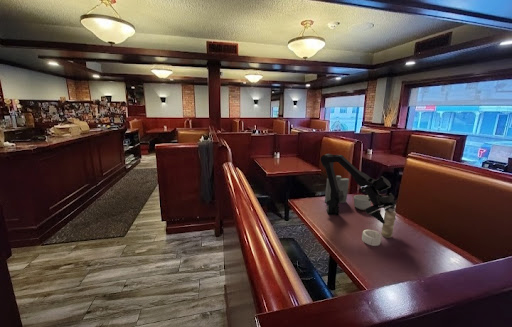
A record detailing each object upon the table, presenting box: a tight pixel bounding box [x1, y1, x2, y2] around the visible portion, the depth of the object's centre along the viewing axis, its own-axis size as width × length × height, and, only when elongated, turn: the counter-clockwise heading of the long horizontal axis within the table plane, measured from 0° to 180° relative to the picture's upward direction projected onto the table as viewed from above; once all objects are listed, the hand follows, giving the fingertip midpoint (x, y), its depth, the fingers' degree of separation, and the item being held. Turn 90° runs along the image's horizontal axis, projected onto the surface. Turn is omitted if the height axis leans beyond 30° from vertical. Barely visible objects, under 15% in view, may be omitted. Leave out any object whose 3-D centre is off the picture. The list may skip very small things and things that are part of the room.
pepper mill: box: [380, 208, 397, 239], centre depth 120 cm, size 5×5×16 cm
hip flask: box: [324, 175, 350, 204], centre depth 161 cm, size 16×4×20 cm, turn 95°
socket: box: [361, 229, 383, 247], centre depth 117 cm, size 8×8×4 cm
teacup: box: [353, 194, 372, 211], centre depth 154 cm, size 14×11×8 cm
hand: (389, 221), depth 120 cm, fingers open, 9 cm apart
